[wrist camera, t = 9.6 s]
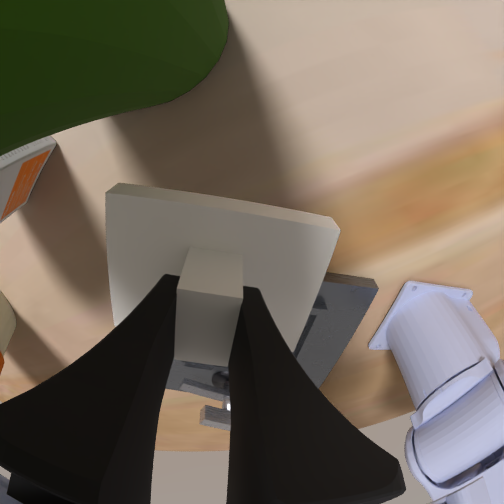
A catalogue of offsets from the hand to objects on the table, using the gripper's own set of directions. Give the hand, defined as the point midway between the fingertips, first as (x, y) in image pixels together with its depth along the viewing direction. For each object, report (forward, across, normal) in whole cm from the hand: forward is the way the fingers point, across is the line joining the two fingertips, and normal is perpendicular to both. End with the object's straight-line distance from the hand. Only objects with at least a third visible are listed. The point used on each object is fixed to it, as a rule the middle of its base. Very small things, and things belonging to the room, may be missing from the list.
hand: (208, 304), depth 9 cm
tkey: (+8, -2, +16) cm, 18 cm away
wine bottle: (+10, +6, -10) cm, 15 cm away
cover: (+2, 0, 0) cm, 2 cm away
